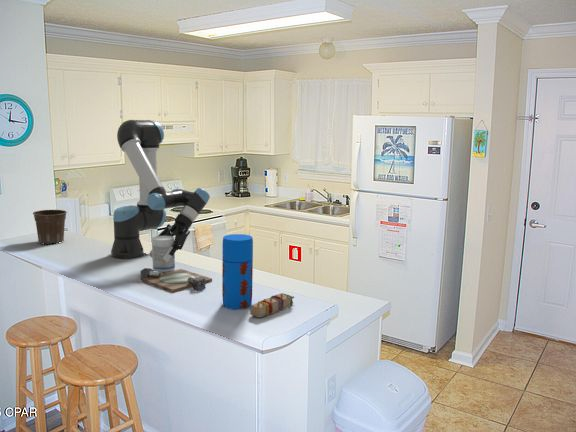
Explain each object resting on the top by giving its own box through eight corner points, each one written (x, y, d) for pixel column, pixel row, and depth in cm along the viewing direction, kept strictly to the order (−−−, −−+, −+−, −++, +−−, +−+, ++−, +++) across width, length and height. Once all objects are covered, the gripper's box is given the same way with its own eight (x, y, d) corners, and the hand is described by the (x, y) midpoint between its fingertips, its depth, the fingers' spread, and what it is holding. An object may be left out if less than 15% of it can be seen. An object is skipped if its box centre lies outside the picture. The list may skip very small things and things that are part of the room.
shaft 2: (186, 286, 207) (185, 277, 207) (193, 284, 210) (193, 275, 210) (197, 290, 203) (197, 280, 202) (205, 288, 206) (205, 278, 205)
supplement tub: (178, 271, 228) (177, 238, 225) (157, 274, 222) (156, 241, 220) (170, 266, 236) (169, 234, 233) (149, 268, 230) (148, 236, 228)
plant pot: (75, 240, 279) (73, 211, 277) (51, 247, 265) (50, 215, 262) (51, 237, 285) (49, 208, 282) (27, 243, 270) (25, 213, 267)
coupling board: (142, 281, 212) (142, 278, 212) (181, 271, 228) (181, 268, 227) (172, 292, 200) (172, 288, 200) (212, 281, 215) (212, 277, 215)
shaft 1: (160, 278, 217) (160, 269, 216) (156, 281, 213) (156, 272, 212) (145, 277, 218) (144, 268, 217) (140, 280, 214) (140, 270, 214)
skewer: (261, 320, 174) (261, 306, 174) (247, 315, 179) (247, 302, 178) (300, 305, 190) (300, 292, 189) (287, 301, 194) (287, 288, 193)
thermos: (218, 301, 192) (219, 235, 187) (246, 297, 196) (247, 233, 192) (227, 311, 182) (227, 241, 178) (256, 307, 186) (257, 239, 182)
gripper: (206, 226, 230) (178, 268, 221) (175, 219, 244) (147, 258, 235) (197, 216, 225) (168, 258, 216) (165, 209, 239) (137, 249, 230)
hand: (157, 258), depth 226 cm, fingers closed on supplement tub, 9 cm apart
